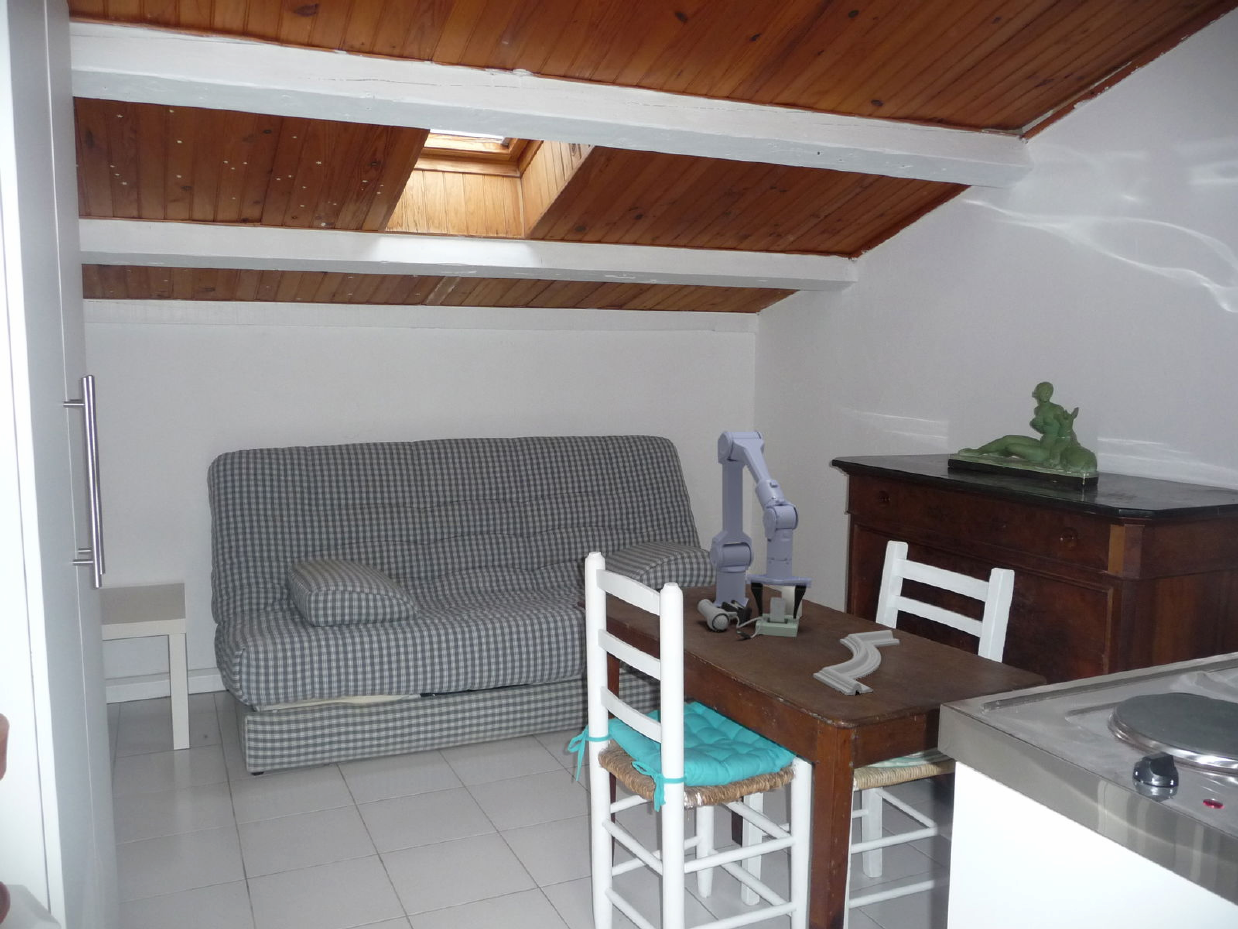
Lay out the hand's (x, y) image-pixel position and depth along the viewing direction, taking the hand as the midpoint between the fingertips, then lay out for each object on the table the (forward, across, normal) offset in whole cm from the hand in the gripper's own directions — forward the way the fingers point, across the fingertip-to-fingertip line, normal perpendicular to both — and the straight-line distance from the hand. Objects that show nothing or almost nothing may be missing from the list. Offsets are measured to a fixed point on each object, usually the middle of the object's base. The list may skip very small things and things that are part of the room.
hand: (777, 616), depth 224 cm
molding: (+4, +20, -21) cm, 29 cm away
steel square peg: (+3, 0, 0) cm, 3 cm away
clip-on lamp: (+3, -10, -3) cm, 11 cm away
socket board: (+3, 0, 0) cm, 3 cm away
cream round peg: (+3, +2, +13) cm, 13 cm away
